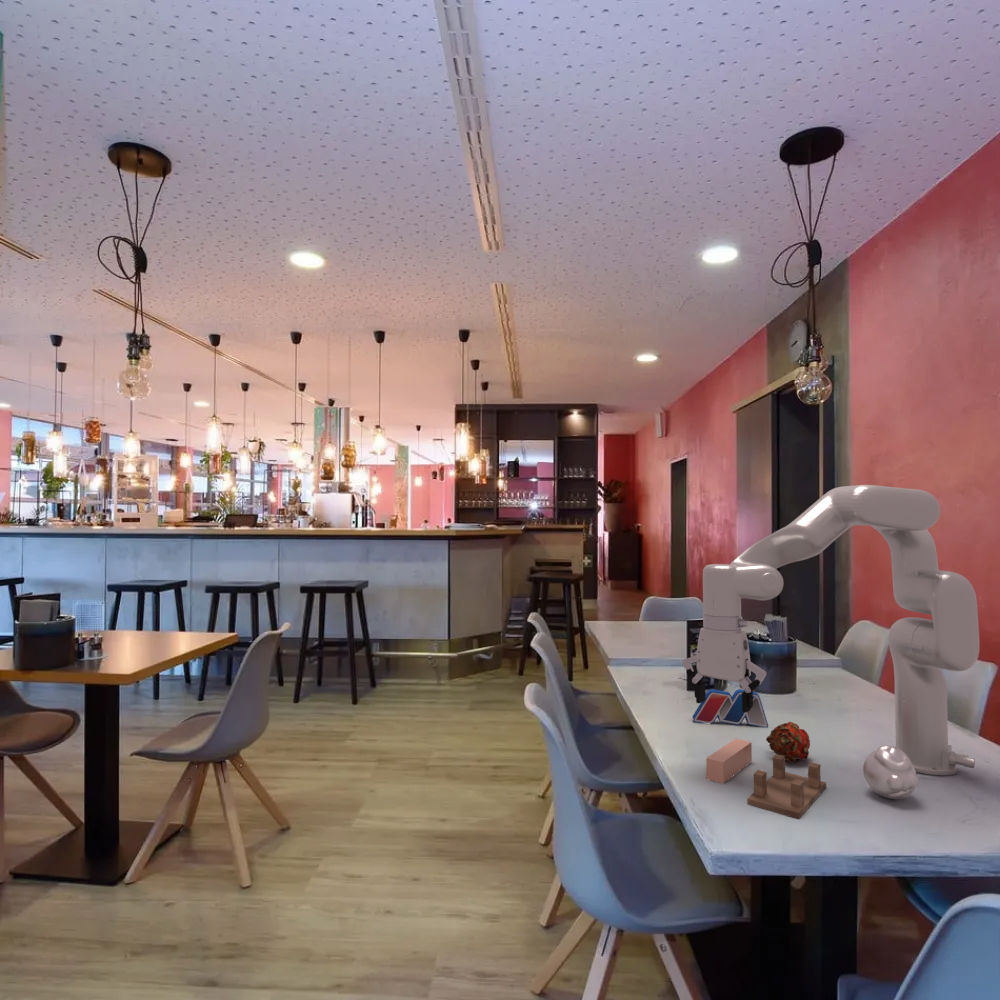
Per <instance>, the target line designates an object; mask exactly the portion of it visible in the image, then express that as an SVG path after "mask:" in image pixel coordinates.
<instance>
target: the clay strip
mask: <svg viewBox="0 0 1000 1000" xmlns="http://www.w3.org/2000/svg"><path fill="white" fill-rule="evenodd" d="M752 744H753V743H752V741H749V740H746V739H745V740H744V739H739V738H734V739H733V740H731V741H730V742H728V743H726V744H725V745H723V746H722V747H721V748H719V749H718V750H716V751H714V752H713V753H712V754H710V755H709V756H707V757H706V759H705V760H706V761H705V762H706V768H705V769H706V780H707V779H709V780H708V781H711V780H712V782H715V781H717V782H716V783H718V782H720V783H719V784H722V783H724V782H725V783H727V782H728V781H729V780H730V779H732V778H733V777H734V776H735V774H736V773H737V772H738V771H739V770H741V769H742V768H743V767H744V768H746V767H747V766H748V765H749V764H748V763H750V762H751V761H753V760H752V758H753V755H752V754H753V753H752V749H753V748H752ZM751 763H752V762H751ZM751 763H750V764H751ZM747 764H748V765H747ZM746 765H747V766H746ZM745 766H746V767H745ZM744 768H743V769H744ZM743 769H742V770H743ZM742 770H741V771H742ZM739 772H740V771H739ZM739 772H738V773H739ZM738 773H737V774H738ZM737 774H736V775H737ZM733 775H734V776H733ZM732 776H733V777H732ZM731 777H732V778H731ZM728 779H729V780H728ZM727 780H728V781H727ZM726 781H727V782H726ZM725 783H724V784H725Z"/></svg>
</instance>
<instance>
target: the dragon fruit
mask: <svg viewBox="0 0 1000 1000" xmlns="http://www.w3.org/2000/svg"><path fill="white" fill-rule="evenodd" d="M765 741H766V742H767V743H769V745H768V746H769V749H770V750H771V751H773V753H775V755H776V754H778V755H782V756H785V761H788V762H789V761H790V763H794V762H796V760H798V759H799V760H807V759H808V757H809V753H810V752H809V749H810V747H811V739H810V736H809V734H808V733H807V731H806V730H805V729H804V728H800V726H799V725H798V724H797V723H794V722H793V721H787V722H785V723H781V724H779V725H777V726H776V727H774V728H773V729H772V730H771V731H770V734H769V735H768V736H767V737H766V739H765Z"/></svg>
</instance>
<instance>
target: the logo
mask: <svg viewBox="0 0 1000 1000" xmlns="http://www.w3.org/2000/svg"><path fill="white" fill-rule="evenodd" d="M742 692H744V689H740V688H738V689H736V690H735V691H734V692H733V694H732V695H731V693H730V691H729V692H728V691H724V690H719V689H714V688H713V689H712V688H711V689H709V690H707V692H706V691H705V701H703V702H701V703H699V705H698V707H697V708H696V710H694V711H695V712H694V713H693V715H692V719H693V722H695V723H698V724H703V723H710V724H709V725H712V724H714V722H715V721H716V720H717V719H718V721H719V722H720V723H725V724H731V725H735V726H739V725H741V724H742V723H743V721H744V720H745V722H746V723H747V725H749V726H754V727H758V726H760V727H759V728H768V727H769V723H768V720H767V717H766V713H765V710H764V707H763V703H762V699H761V697H760V694H758V693H757V692H756V691H753V707H752V708H751V710H749V711H748V712H746V713H745V712H743V711H742Z"/></svg>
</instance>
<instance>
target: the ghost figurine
mask: <svg viewBox="0 0 1000 1000" xmlns="http://www.w3.org/2000/svg"><path fill="white" fill-rule="evenodd" d="M862 771H863V772H862V773H863V777H864V780H865V781H866V783H867V785H868V787H870V788H871V789H872V791H873V792H875V793H876V794H877V795H880V796H882V797H884V798H885V799H889V800H890V799H891V800H901V799H905V798H908V797H909V796H911V795H912V794H913V792H915V790H916V789H917V787H918V786H919V784H920V783H919V778H918V775H917V772H916V770H915V768H914V766H913V765H912V763H911V761H910V759H909V757H908V756H907V755H906V754H905V753H904V752H903V751H902V750H901V749H899V748H897V747H896V746H893V745H886V744H885V745H881V746H879V747H878V748H877V749H876V750H873V751H871V753H869V754H868V755H867V756H866V757H865V759H864V761H863V764H862Z"/></svg>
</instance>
